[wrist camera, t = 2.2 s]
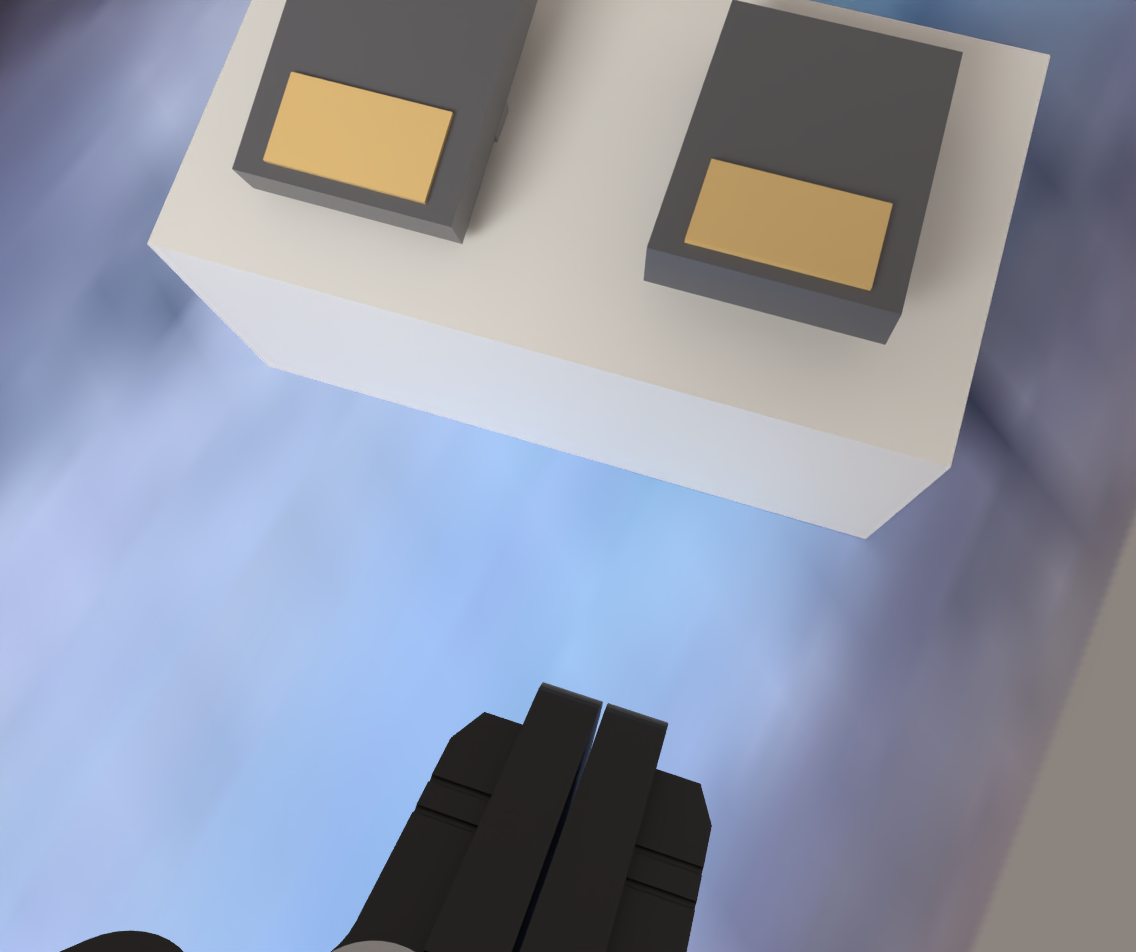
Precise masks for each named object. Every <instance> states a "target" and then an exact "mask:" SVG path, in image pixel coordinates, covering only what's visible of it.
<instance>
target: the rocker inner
mask: <svg viewBox="0 0 1136 952" xmlns="http://www.w3.org/2000/svg"><path fill="white" fill-rule="evenodd" d="M537 1H538V0H286V3H285V6H284V9H283V12H282V15H281V18H280V21H279V24H278V28H277V31H276V34H275V37H274V40H273V43H272V46H271V49H270V52H269V56H268V59H267V62H266V65H265V68H264V71H263V74H262V77H261V80H260V83H259V87H258V90H257V93H256V96H255V99H254V102H253V105H252V108H251V111H250V115H249V118H248V121H247V124H246V127H245V130H244V133H243V136H242V139H241V142H240V146H239V149H238V152H237V155H236V158H235V161H234V164H233V167H232V170H234V171H235V172H236V173H237V174H238V175H239V176H240V177H241V178H242V179H244V180H245V181H246V182H247V183H248V184H249V185H250V186H251V187H253V188H254V189H258V190H262V191H266V192H269V193H273V194H277V195H281V196H284V197H288V198H292V199H295V200H299V201H303V202H307V203H310V204H314V205H318V206H322V207H325V208H329V209H333V210H337V211H340V212H344V213H348V214H352V215H355V216H359V217H363V218H367V219H370V220H374V221H378V222H382V223H385V224H389V225H393V226H396V227H400V228H404V229H408V230H411V231H415V232H419V233H423V234H426V235H430V236H434V237H438V238H441V239H445V240H449V241H453V242H456V243H460V244H463V241H464V238H465V234H466V231H467V228H468V225H469V221H470V218H471V215H472V212H473V208H474V205H475V202H476V199H477V195H478V192H479V189H480V186H481V182H482V179H483V176H484V173H485V169H486V166H487V163H488V160H489V157H490V153H491V150H492V147H493V144H494V140H495V137H496V134H497V131H498V127H499V124H500V121H501V118H502V114H503V111H504V108H505V105H506V101H507V98H508V95H509V92H510V88H511V85H512V82H513V79H514V76H515V72H516V69H517V66H518V63H519V59H520V56H521V53H522V50H523V46H524V43H525V40H526V37H527V33H528V30H529V27H530V24H531V20H532V17H533V14H534V11H535V8H536V4H537Z"/></svg>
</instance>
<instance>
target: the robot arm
mask: <svg viewBox="0 0 1136 952" xmlns="http://www.w3.org/2000/svg"><path fill="white" fill-rule="evenodd" d="M602 704H603V702H602V701H599V700H596V699H593V698H590V697H587V696H584V695H581V694H577V693H574V692H571V691H568V690H565V689H562V688H559V687H556V686H553V685H550V684H547V683H544V682H543V683H542V684H541V686H540V688H539V689H538V692H537V694H536V696H535V698H534V701H533V703H532V705H531V707H530V710H529V712H528V714H527V716H526V719H525V721H524V723H523V725H522V724H519V723H516V722H513V721H510V720H507V719H504V718H501V717H498V716H495V715H492V714H489V713H486V712H484V713H482V714H481V715H480V716H479V717H477V718H476V719H475V720H473V721H472V722H471V723H469V724H468V725H467V726H466V727H464V728H463V729H462V730H460V731H459V732H458V733H456V734H455V735H454V736H453V737H451V739H450V740H449V742H448V744H447V746H446V748H445V750H444V752H443V754H442V756H441V758H440V760H439V762H438V764H437V766H436V768H435V770H434V771H433V773H432V777H431V779H430V782H429V781H428V783H427V785H426V787H425V789H424V791H423V793H422V795H421V797H420V799H419V801H418V802H417V805H416V808H415V811H414V812H412V814H411V816H410V818H409V820H408V822H407V824H406V826H405V828H404V830H403V832H402V834H401V835H400V837H399V839H398V841H397V843H396V845H395V847H394V849H393V851H392V853H391V855H390V857H389V859H388V861H387V863H386V865H385V866H384V868H383V870H382V872H381V874H380V876H379V878H378V880H377V882H376V884H375V886H374V888H373V890H372V892H371V894H370V896H369V897H368V899H367V901H366V903H365V905H364V907H363V909H362V911H361V913H360V915H359V917H358V919H357V921H356V923H355V924H354V926H353V927H352V929H351V931H350V932H349V934H348V935H347V936H346V937H345V938H344V939H343V941H342V942H341V943H340V944H339V945H338V946H337V947H336V948H334V949H333V950H332V951H331V952H687V947H688V942H689V937H690V932H691V927H692V922H693V917H694V912H695V910H694V909H695V905H696V902H697V897H698V892H699V887H700V882H701V877H702V875H701V874H702V870H703V867H704V862H705V857H706V852H707V847H708V842H709V837H710V832H711V827H712V825H711V821H710V818H709V814H708V810H707V806H706V803H705V799H704V795H703V791H702V787H701V784H700V783H697V782H694V781H691V780H688V779H685V778H682V777H679V776H676V775H673V774H670V773H667V772H664V771H661V770H658V769H656V767H657V763H658V760H659V756H660V752H661V749H662V745H663V741H664V738H665V734H666V730H667V726H668V723H667V722H664V721H661V720H658V719H655V718H652V717H649V716H646V715H643V714H640V713H636V712H633V711H630V710H627V709H624V708H621V707H618V706H615V705H612V704H609V703H608V704H607V706H606V709H605V712H604V714H603V717H602V720H601V723H600V726H599V729H598V731H597V734H596V737H595V740H594V743H593V739H594V735H595V732H596V728H597V724H598V720H599V717H600V713H601V709H602ZM592 743H593V746H592ZM591 747H592V748H591ZM60 952H183V951H182V950H181V949H180V948H179V947H178V946H177V945H175V944H174V943H173V942H171V941H170V940H168V939H166V938H163V937H161V936H159V935H156V934H152V933H148V932H142V931H118V932H112V933H108V934H103V935H100V936H97V937H94V938H91V939H88V940H86V941H84V942H81V943H79V944H77V945H74V946H72V947H70V948H67V949H65V950H63V951H60Z"/></svg>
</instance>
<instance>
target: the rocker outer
mask: <svg viewBox="0 0 1136 952" xmlns="http://www.w3.org/2000/svg"><path fill="white" fill-rule="evenodd" d="M962 54H963V52H960V51H956V50H952V49H947V48H943V47H939V46H934V45H930V44H925V43H921V42H917V41H912V40H908V39H904V38H899V37H895V36H891V35H886V34H882V33H877V32H873V31H869V30H864V29H860V28H856V27H851V26H847V25H843V24H838V23H834V22H829V21H825V20H821V19H816V18H812V17H808V16H803V15H799V14H795V13H790V12H786V11H781V10H777V9H773V8H768V7H764V6H760V5H755V4H751V3H747V2H742V1H738V0H732V2H731V5H730V8H729V11H728V14H727V17H726V20H725V22H724V25H723V28H722V31H721V34H720V37H719V40H718V43H717V46H716V48H715V51H714V54H713V57H712V60H711V63H710V66H709V69H708V72H707V75H706V77H705V80H704V83H703V86H702V89H701V92H700V95H699V98H698V101H697V104H696V106H695V109H694V112H693V115H692V118H691V121H690V124H689V127H688V130H687V132H686V135H685V138H684V141H683V144H682V147H681V150H680V153H679V156H678V159H677V161H676V164H675V167H674V170H673V173H672V176H671V179H670V182H669V185H668V187H667V190H666V193H665V196H664V199H663V202H662V205H661V208H660V211H659V214H658V216H657V219H656V222H655V225H654V228H653V231H652V234H651V237H650V240H649V243H648V245H647V250H646V260H645V270H644V280H643V281H647V282H651V283H654V284H658V285H662V286H666V287H669V288H673V289H677V290H681V291H684V292H688V293H692V294H696V295H700V296H703V297H707V298H711V299H715V300H718V301H722V302H726V303H730V304H733V305H737V306H741V307H745V308H748V309H752V310H756V311H760V312H763V313H767V314H771V315H775V316H779V317H782V318H786V319H790V320H794V321H797V322H801V323H805V324H809V325H812V326H816V327H820V328H824V329H827V330H831V331H835V332H839V333H842V334H846V335H850V336H854V337H858V338H861V339H865V340H869V341H873V342H876V343H880V344H884V345H886V343H887V341H888V339H889V337H890V335H891V334H892V332H893V330H894V328H895V326H896V324H897V322H898V320H899V319H900V317H901V315H902V311H903V307H904V302H905V298H906V294H907V290H908V285H909V281H910V277H911V272H912V268H913V264H914V260H915V255H916V251H917V247H918V243H919V238H920V234H921V230H922V225H923V221H924V217H925V213H926V208H927V204H928V200H929V196H930V191H931V187H932V183H933V178H934V174H935V170H936V166H937V161H938V157H939V153H940V148H941V144H942V140H943V136H944V131H945V127H946V123H947V119H948V114H949V110H950V106H951V101H952V97H953V93H954V89H955V84H956V80H957V76H958V71H959V67H960V63H961V59H962Z"/></svg>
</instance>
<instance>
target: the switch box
mask: <svg viewBox="0 0 1136 952" xmlns="http://www.w3.org/2000/svg"><path fill="white" fill-rule="evenodd" d="M738 1H742V2H747V3H751V4H755V5H760V6H764V7H768V8H773V9H777V10H781V11H786V12H790V13H795V14H799V15H803V16H808V17H812V18H816V19H821V20H825V21H829V22H834V23H838V24H843V25H847V26H851V27H856V28H860V29H864V30H869V31H873V32H877V33H882V34H886V35H891V36H895V37H899V38H904V39H908V40H912V41H917V42H921V43H925V44H930V45H934V46H939V47H943V48H947V49H952V50H956V51H960V52H963V54H962V59H961V63H960V67H959V71H958V76H957V80H956V84H955V89H954V93H953V97H952V101H951V106H950V110H949V114H948V119H947V123H946V127H945V131H944V136H943V140H942V144H941V148H940V153H939V157H938V161H937V166H936V170H935V174H934V178H933V183H932V187H931V191H930V196H929V200H928V204H927V208H926V213H925V217H924V221H923V225H922V230H921V234H920V238H919V243H918V247H917V251H916V255H915V260H914V264H913V268H912V272H911V277H910V281H909V285H908V290H907V294H906V298H905V302H904V307H903V311H902V315H901V317H900V319H899V320H898V322H897V324H896V326H895V328H894V330H893V332H892V334H891V335H890V337H889V339H888V341H887V343H886V345H884V344H880V343H876V342H873V341H869V340H865V339H861V338H858V337H854V336H850V335H846V334H842V333H839V332H835V331H831V330H827V329H824V328H820V327H816V326H812V325H809V324H805V323H801V322H797V321H794V320H790V319H786V318H782V317H779V316H775V315H771V314H767V313H763V312H760V311H756V310H752V309H748V308H745V307H741V306H737V305H733V304H730V303H726V302H722V301H718V300H715V299H711V298H707V297H703V296H700V295H696V294H692V293H688V292H684V291H681V290H677V289H673V288H669V287H666V286H662V285H658V284H654V283H651V282H647V281H643V280H644V270H645V260H646V250H647V245H648V243H649V240H650V237H651V234H652V231H653V228H654V225H655V222H656V219H657V216H658V214H659V211H660V208H661V205H662V202H663V199H664V196H665V193H666V190H667V187H668V185H669V182H670V179H671V176H672V173H673V170H674V167H675V164H676V161H677V159H678V156H679V153H680V150H681V147H682V144H683V141H684V138H685V135H686V132H687V130H688V127H689V124H690V121H691V118H692V115H693V112H694V109H695V106H696V104H697V101H698V98H699V95H700V92H701V89H702V86H703V83H704V80H705V77H706V75H707V72H708V69H709V66H710V63H711V60H712V57H713V54H714V51H715V48H716V46H717V43H718V40H719V37H720V34H721V31H722V28H723V25H724V22H725V20H726V17H727V14H728V11H729V8H730V5H731V2H732V0H538V1H537V4H536V8H535V11H534V14H533V17H532V20H531V24H530V27H529V30H528V33H527V37H526V40H525V43H524V46H523V50H522V53H521V56H520V59H519V63H518V66H517V69H516V72H515V76H514V79H513V82H512V85H511V88H510V92H509V95H508V98H507V101H506V105H505V108H504V111H503V114H502V118H501V121H500V124H499V127H498V131H497V134H496V137H495V140H494V144H493V147H492V150H491V153H490V157H489V160H488V163H487V166H486V169H485V173H484V176H483V179H482V182H481V186H480V189H479V192H478V195H477V199H476V202H475V205H474V208H473V212H472V215H471V218H470V221H469V225H468V228H467V231H466V234H465V238H464V241H463V244H460V243H456V242H453V241H449V240H445V239H441V238H438V237H434V236H430V235H426V234H423V233H419V232H415V231H411V230H408V229H404V228H400V227H396V226H393V225H389V224H385V223H382V222H378V221H374V220H370V219H367V218H363V217H359V216H355V215H352V214H348V213H344V212H340V211H337V210H333V209H329V208H325V207H322V206H318V205H314V204H310V203H307V202H303V201H299V200H295V199H292V198H288V197H284V196H281V195H277V194H273V193H269V192H266V191H262V190H258V189H254V188H253V187H251V186H250V185H249V184H248V183H247V182H246V181H245V180H244V179H242V178H241V177H240V176H239V175H238V174H237V173H236V172H235V171H234V170H232V167H233V164H234V161H235V158H236V155H237V152H238V149H239V146H240V142H241V139H242V136H243V133H244V130H245V127H246V124H247V121H248V118H249V115H250V111H251V108H252V105H253V102H254V99H255V96H256V93H257V90H258V87H259V83H260V80H261V77H262V74H263V71H264V68H265V65H266V62H267V59H268V56H269V52H270V49H271V46H272V43H273V40H274V37H275V34H276V31H277V28H278V24H279V21H280V18H281V15H282V12H283V9H284V6H285V3H286V0H252V1H251V3H250V6H249V8H248V10H247V13H246V15H245V17H244V20H243V22H242V24H241V27H240V29H239V31H238V34H237V36H236V38H235V41H234V43H233V45H232V48H231V50H230V52H229V55H228V57H227V59H226V62H225V64H224V66H223V69H222V71H221V73H220V76H219V78H218V80H217V83H216V85H215V87H214V90H213V92H212V94H211V97H210V99H209V101H208V104H207V106H206V108H205V111H204V113H203V115H202V118H201V120H200V122H199V125H198V127H197V129H196V131H195V134H194V136H193V138H192V141H191V143H190V145H189V148H188V150H187V152H186V155H185V157H184V159H183V162H182V164H181V166H180V169H179V171H178V173H177V176H176V178H175V180H174V183H173V185H172V187H171V190H170V192H169V194H168V197H167V199H166V201H165V204H164V206H163V208H162V211H161V213H160V215H159V218H158V220H157V222H156V225H155V227H154V229H153V232H152V234H151V236H150V239H149V241H148V243H147V244H148V245H149V246H150V247H151V248H152V249H153V250H154V251H155V252H156V253H157V254H158V255H159V256H160V257H161V258H162V259H163V260H164V261H165V262H166V263H167V264H168V265H169V266H170V267H171V268H172V269H173V271H174V272H175V273H176V274H177V275H178V276H179V277H180V278H181V279H182V280H183V281H184V282H185V283H186V284H187V285H188V286H189V287H190V288H191V289H192V290H193V291H194V292H195V293H196V294H197V295H198V296H199V297H200V298H201V299H202V300H203V301H204V302H205V303H206V304H207V305H208V306H209V307H210V308H211V309H212V310H213V311H214V312H215V313H216V314H217V315H218V316H219V317H220V318H221V319H222V320H223V321H224V322H225V323H226V324H227V325H228V326H229V327H230V328H231V329H232V330H233V331H234V332H235V333H236V334H237V335H238V336H239V337H240V338H241V339H242V340H243V341H244V342H245V343H246V344H247V346H248V347H249V348H250V349H251V350H252V351H253V352H254V353H255V354H256V355H257V356H258V357H259V358H260V359H261V360H262V361H263V362H264V363H265V364H266V365H267V366H269V367H272V368H276V369H279V370H282V371H286V372H289V373H293V374H296V375H300V376H303V377H307V378H310V379H314V380H317V381H320V382H324V383H327V384H331V385H334V386H338V387H341V388H345V389H348V390H352V391H355V392H358V393H362V394H365V395H369V396H372V397H376V398H379V399H383V400H386V401H390V402H393V403H396V404H400V405H403V406H407V407H410V408H414V409H417V410H421V411H424V412H428V413H431V414H434V415H438V416H441V417H445V418H448V419H452V420H455V421H459V422H462V423H466V424H469V425H472V426H476V427H479V428H483V429H486V430H490V431H493V432H497V433H500V434H504V435H507V436H510V437H514V438H517V439H521V440H524V441H528V442H531V443H535V444H538V445H542V446H545V447H549V448H552V449H555V450H559V451H562V452H566V453H569V454H573V455H576V456H580V457H583V458H587V459H590V460H593V461H597V462H600V463H604V464H607V465H611V466H614V467H618V468H621V469H625V470H628V471H631V472H635V473H638V474H642V475H645V476H649V477H652V478H656V479H659V480H663V481H666V482H669V483H673V484H676V485H680V486H683V487H687V488H690V489H694V490H697V491H701V492H704V493H707V494H711V495H714V496H718V497H721V498H725V499H728V500H732V501H735V502H739V503H742V504H745V505H749V506H752V507H756V508H759V509H763V510H766V511H770V512H773V513H777V514H780V515H783V516H787V517H790V518H794V519H797V520H801V521H804V522H808V523H811V524H815V525H818V526H821V527H825V528H828V529H832V530H835V531H839V532H842V533H846V534H849V535H853V536H856V537H860V538H863V539H867V538H868V537H869V536H870V535H871V534H872V533H874V532H875V531H876V530H877V529H878V528H880V527H881V526H882V525H883V524H884V523H885V522H887V521H888V520H889V519H890V518H891V517H893V516H894V515H895V514H896V513H897V512H898V511H900V510H901V509H902V508H903V507H904V506H906V505H907V504H908V503H909V502H910V501H911V500H913V499H914V498H915V497H916V496H917V495H919V494H920V493H921V492H922V491H923V490H924V489H926V488H927V487H928V486H929V485H930V484H932V483H933V482H934V481H935V480H936V479H937V478H939V477H940V476H941V475H942V474H943V473H945V472H946V471H947V470H948V469H949V468H950V467H951V464H952V460H953V456H954V452H955V448H956V443H957V439H958V435H959V431H960V427H961V423H962V419H963V415H964V410H965V406H966V402H967V398H968V394H969V390H970V386H971V382H972V377H973V373H974V369H975V365H976V361H977V357H978V353H979V349H980V344H981V340H982V336H983V332H984V328H985V324H986V320H987V316H988V311H989V307H990V303H991V299H992V295H993V291H994V287H995V282H996V278H997V274H998V270H999V266H1000V262H1001V258H1002V254H1003V249H1004V245H1005V241H1006V237H1007V233H1008V229H1009V225H1010V221H1011V216H1012V212H1013V208H1014V204H1015V200H1016V196H1017V192H1018V188H1019V183H1020V179H1021V175H1022V171H1023V167H1024V163H1025V159H1026V155H1027V150H1028V146H1029V142H1030V138H1031V134H1032V130H1033V126H1034V122H1035V117H1036V113H1037V109H1038V105H1039V101H1040V97H1041V93H1042V89H1043V84H1044V80H1045V76H1046V72H1047V68H1048V64H1049V60H1050V56H1051V55H1048V54H1044V53H1040V52H1035V51H1031V50H1026V49H1022V48H1018V47H1013V46H1009V45H1004V44H1000V43H996V42H991V41H987V40H982V39H978V38H974V37H969V36H965V35H960V34H956V33H952V32H947V31H943V30H938V29H934V28H930V27H925V26H921V25H916V24H912V23H908V22H903V21H899V20H894V19H890V18H886V17H881V16H877V15H872V14H868V13H864V12H859V11H855V10H850V9H846V8H842V7H837V6H833V5H828V4H824V3H820V2H815V1H811V0H738Z"/></svg>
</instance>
